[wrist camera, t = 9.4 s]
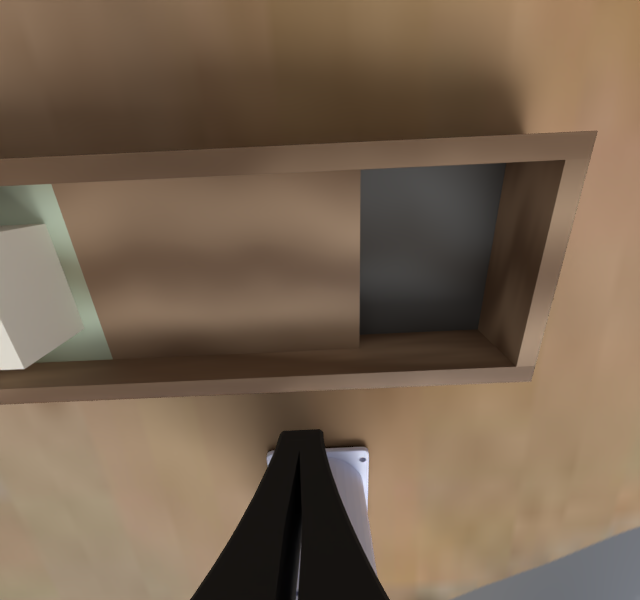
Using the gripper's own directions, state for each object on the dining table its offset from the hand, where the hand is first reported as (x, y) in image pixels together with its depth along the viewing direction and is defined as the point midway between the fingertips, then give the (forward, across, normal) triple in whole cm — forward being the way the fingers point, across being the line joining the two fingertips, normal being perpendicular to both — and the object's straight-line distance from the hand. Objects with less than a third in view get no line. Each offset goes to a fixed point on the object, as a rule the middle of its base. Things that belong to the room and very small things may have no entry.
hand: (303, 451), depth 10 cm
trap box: (+10, +4, -4) cm, 12 cm away
